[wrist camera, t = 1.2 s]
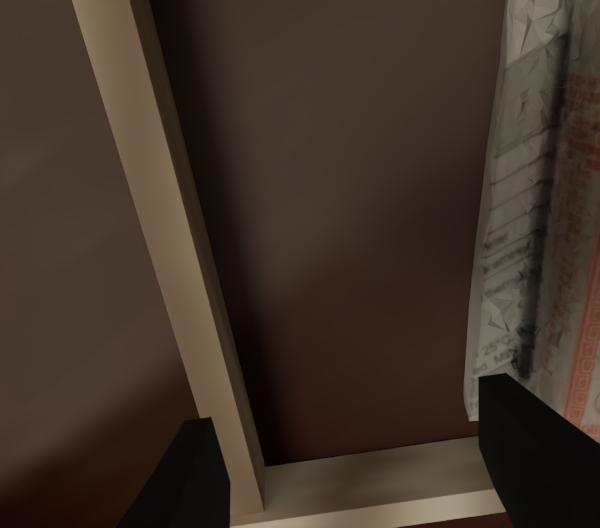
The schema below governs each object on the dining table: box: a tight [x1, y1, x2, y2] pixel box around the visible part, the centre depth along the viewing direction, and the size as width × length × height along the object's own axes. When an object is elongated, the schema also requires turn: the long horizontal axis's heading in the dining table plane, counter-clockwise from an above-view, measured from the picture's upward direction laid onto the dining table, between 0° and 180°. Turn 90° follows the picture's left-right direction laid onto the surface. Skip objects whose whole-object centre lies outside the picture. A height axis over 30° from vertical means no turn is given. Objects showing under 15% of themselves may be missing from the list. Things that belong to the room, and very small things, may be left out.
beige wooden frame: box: [72, 0, 600, 528], centre depth 18 cm, size 26×24×3 cm
